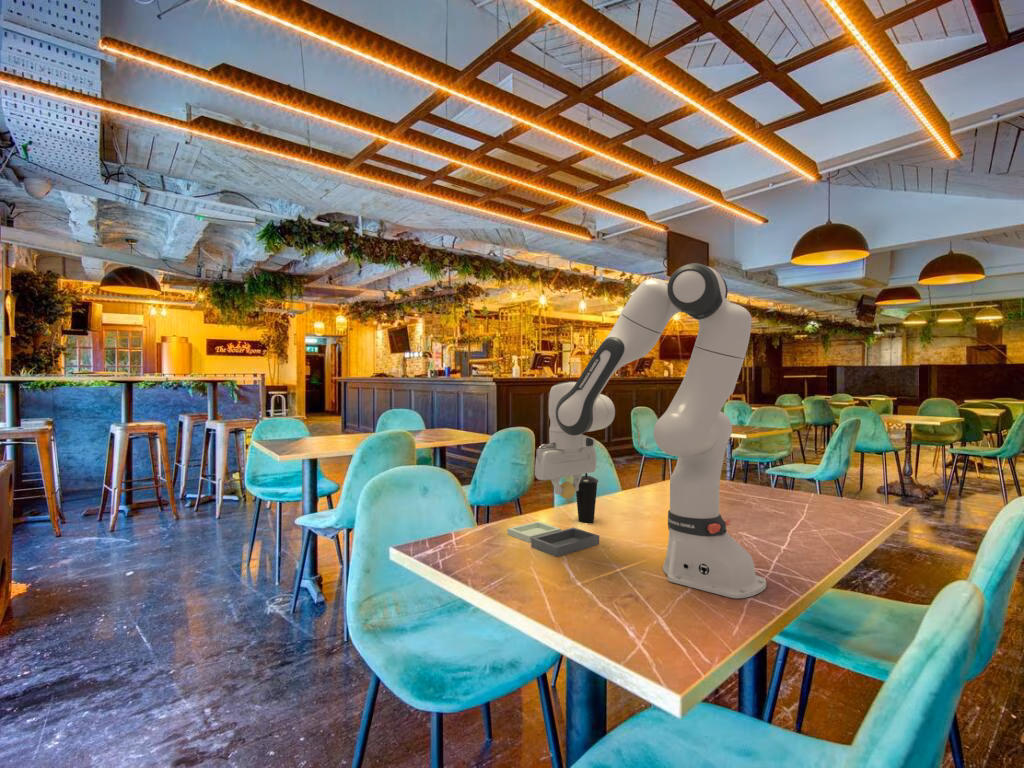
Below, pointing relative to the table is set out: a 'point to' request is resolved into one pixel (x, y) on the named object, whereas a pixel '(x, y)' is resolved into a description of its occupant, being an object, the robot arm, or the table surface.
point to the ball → (567, 490)
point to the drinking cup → (586, 499)
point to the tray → (531, 530)
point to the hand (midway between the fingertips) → (567, 492)
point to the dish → (564, 541)
